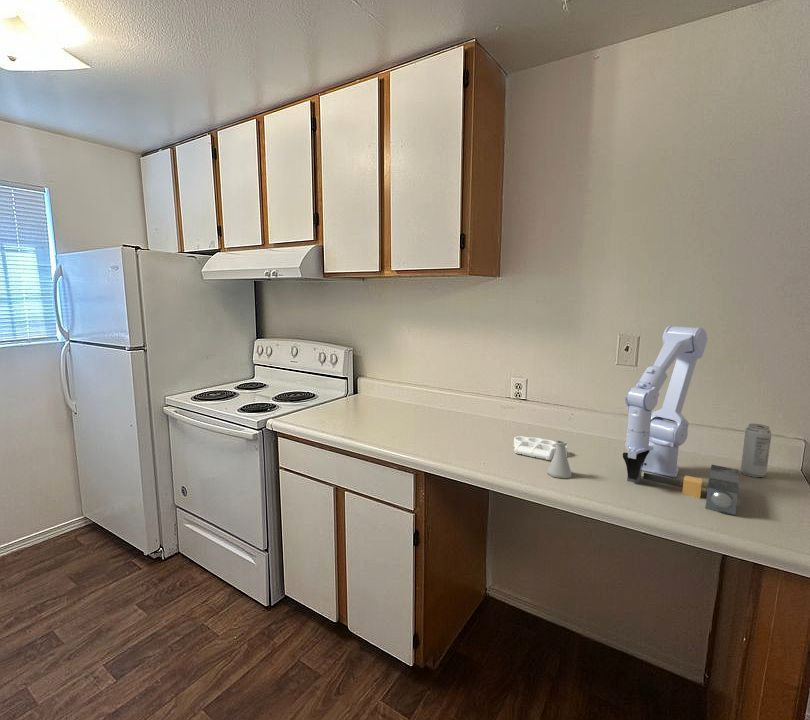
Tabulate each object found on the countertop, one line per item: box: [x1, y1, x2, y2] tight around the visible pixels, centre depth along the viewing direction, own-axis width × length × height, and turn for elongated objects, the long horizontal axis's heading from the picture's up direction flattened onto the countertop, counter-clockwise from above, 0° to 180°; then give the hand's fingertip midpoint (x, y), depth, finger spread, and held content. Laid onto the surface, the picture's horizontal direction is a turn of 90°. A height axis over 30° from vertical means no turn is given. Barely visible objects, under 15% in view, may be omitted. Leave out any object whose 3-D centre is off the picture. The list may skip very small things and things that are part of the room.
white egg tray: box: [513, 435, 568, 461], centre depth 150 cm, size 3×18×15 cm
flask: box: [546, 439, 573, 479], centre depth 130 cm, size 7×7×10 cm
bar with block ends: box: [626, 465, 707, 499], centre depth 122 cm, size 18×4×5 cm, turn 53°
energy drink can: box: [740, 423, 772, 478], centre depth 131 cm, size 6×6×15 cm
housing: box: [705, 464, 740, 516], centre depth 114 cm, size 6×17×6 cm, turn 143°
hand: (634, 475), depth 127 cm, fingers open, 5 cm apart
